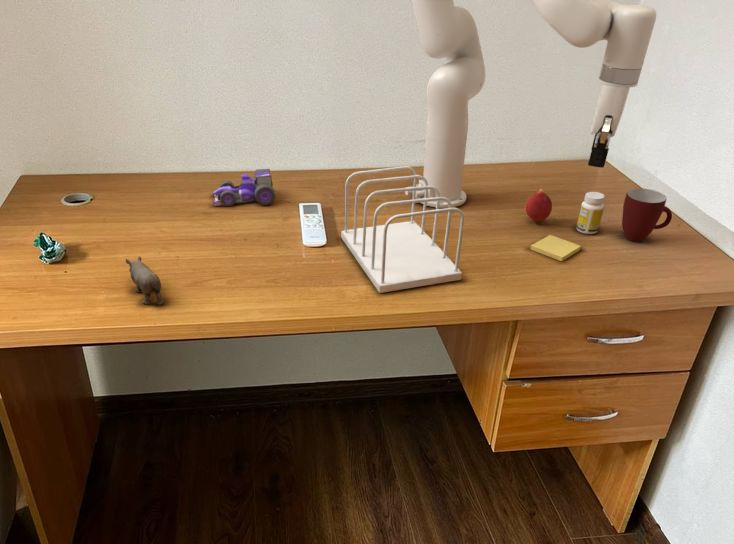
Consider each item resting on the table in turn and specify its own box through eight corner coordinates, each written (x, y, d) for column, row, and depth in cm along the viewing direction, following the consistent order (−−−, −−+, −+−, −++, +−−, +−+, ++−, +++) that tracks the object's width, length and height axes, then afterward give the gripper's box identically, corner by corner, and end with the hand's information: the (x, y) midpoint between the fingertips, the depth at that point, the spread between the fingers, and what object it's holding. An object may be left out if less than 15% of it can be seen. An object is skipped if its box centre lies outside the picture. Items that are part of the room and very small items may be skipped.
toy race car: (212, 193, 167) (210, 168, 163) (272, 190, 169) (270, 165, 166) (213, 209, 160) (210, 183, 156) (275, 205, 162) (274, 179, 158)
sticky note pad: (561, 261, 138) (562, 257, 138) (530, 249, 143) (530, 245, 142) (580, 250, 143) (581, 245, 142) (549, 238, 147) (549, 234, 147)
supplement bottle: (599, 228, 152) (608, 193, 147) (596, 236, 148) (605, 200, 143) (577, 224, 153) (585, 189, 149) (574, 232, 150) (582, 197, 145)
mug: (654, 229, 151) (667, 187, 145) (671, 245, 145) (685, 202, 139) (609, 230, 151) (620, 188, 145) (623, 246, 144) (635, 203, 138)
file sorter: (340, 238, 147) (341, 170, 138) (413, 228, 151) (418, 161, 142) (379, 293, 127) (382, 218, 118) (461, 281, 132) (471, 207, 122)
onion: (549, 219, 156) (556, 186, 151) (547, 229, 151) (554, 195, 147) (524, 215, 157) (530, 183, 153) (521, 225, 153) (527, 192, 148)
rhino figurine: (143, 273, 134) (138, 246, 130) (168, 303, 124) (163, 275, 121) (123, 278, 132) (117, 251, 128) (146, 309, 122) (141, 281, 119)
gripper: (602, 63, 140) (582, 143, 150) (597, 82, 127) (575, 169, 137) (639, 67, 138) (617, 148, 148) (638, 87, 125) (613, 175, 135)
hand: (597, 158), depth 142 cm, fingers open, 9 cm apart
